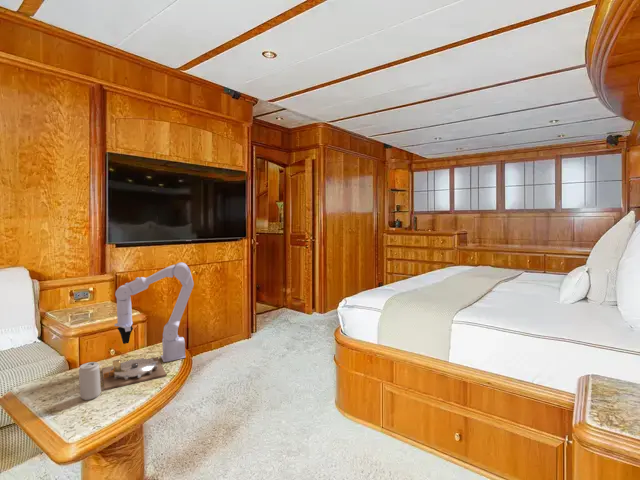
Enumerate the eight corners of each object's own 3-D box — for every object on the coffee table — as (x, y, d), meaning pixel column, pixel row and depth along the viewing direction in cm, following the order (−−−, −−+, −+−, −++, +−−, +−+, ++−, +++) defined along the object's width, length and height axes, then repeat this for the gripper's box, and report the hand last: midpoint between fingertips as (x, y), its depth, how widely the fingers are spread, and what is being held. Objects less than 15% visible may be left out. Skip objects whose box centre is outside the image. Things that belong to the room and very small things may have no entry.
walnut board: (157, 358, 168) (157, 353, 168) (166, 376, 151) (166, 370, 151) (102, 369, 157) (101, 364, 156) (104, 390, 139) (104, 384, 139)
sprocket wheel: (152, 357, 167) (152, 345, 166) (163, 371, 152) (162, 358, 152) (107, 368, 156) (106, 355, 155) (113, 384, 141) (112, 370, 141)
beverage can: (104, 392, 137) (103, 361, 136) (92, 401, 131) (90, 369, 130) (88, 391, 138) (87, 360, 137) (76, 400, 132) (74, 368, 131)
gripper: (111, 310, 164) (113, 340, 166) (116, 318, 153) (118, 350, 154) (129, 308, 169) (130, 337, 170) (135, 315, 157) (136, 346, 158)
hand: (125, 343), depth 162 cm, fingers closed
